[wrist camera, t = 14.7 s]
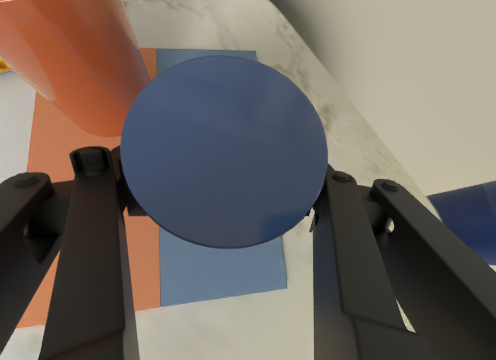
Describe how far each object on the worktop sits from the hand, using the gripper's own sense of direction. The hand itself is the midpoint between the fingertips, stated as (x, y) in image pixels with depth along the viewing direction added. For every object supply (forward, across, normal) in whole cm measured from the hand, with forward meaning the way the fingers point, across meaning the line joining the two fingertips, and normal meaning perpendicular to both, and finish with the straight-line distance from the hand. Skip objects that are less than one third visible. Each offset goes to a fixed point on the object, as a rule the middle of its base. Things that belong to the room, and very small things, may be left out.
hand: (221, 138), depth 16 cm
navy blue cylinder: (0, 0, -5) cm, 5 cm away
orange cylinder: (+6, -9, +1) cm, 11 cm away
